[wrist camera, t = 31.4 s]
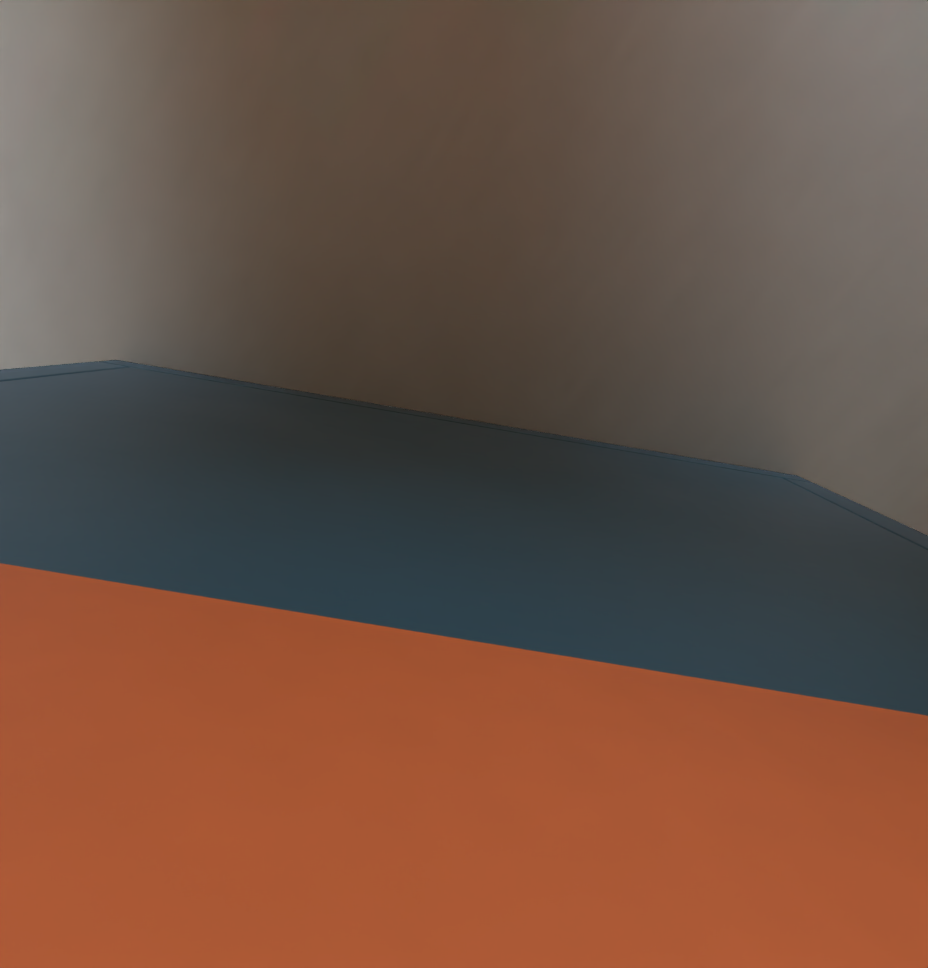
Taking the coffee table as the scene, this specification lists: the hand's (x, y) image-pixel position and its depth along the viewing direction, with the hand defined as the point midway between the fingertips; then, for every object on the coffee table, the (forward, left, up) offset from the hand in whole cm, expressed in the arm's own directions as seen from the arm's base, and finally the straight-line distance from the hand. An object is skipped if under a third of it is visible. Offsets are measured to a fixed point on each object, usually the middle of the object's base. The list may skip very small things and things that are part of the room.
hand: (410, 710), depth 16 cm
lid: (-8, 0, +18) cm, 20 cm away
